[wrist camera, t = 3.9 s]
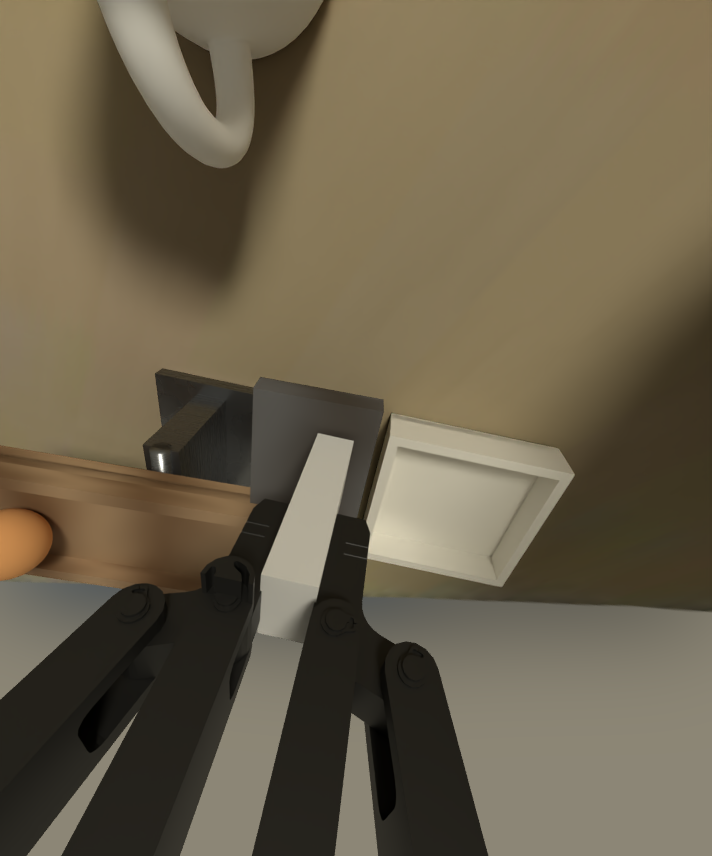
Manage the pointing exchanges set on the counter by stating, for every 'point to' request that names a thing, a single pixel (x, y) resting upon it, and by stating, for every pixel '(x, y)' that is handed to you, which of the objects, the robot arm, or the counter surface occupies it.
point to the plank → (182, 493)
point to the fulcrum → (202, 429)
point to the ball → (22, 541)
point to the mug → (230, 56)
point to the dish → (460, 499)
